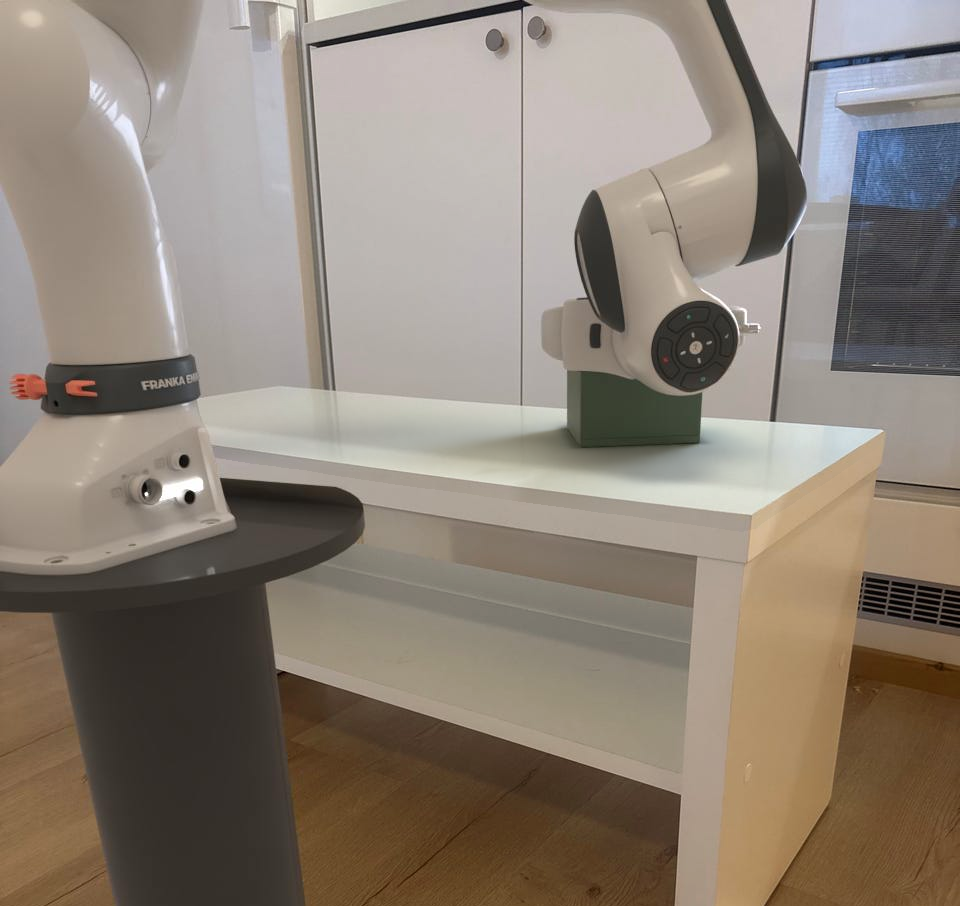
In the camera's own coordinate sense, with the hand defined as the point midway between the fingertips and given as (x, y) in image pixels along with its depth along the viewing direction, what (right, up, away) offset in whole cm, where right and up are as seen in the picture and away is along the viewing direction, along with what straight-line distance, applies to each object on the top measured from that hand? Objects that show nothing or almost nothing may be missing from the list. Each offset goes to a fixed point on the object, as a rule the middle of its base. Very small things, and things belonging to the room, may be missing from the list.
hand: (630, 323), depth 101 cm
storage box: (+1, -11, +4) cm, 12 cm away
